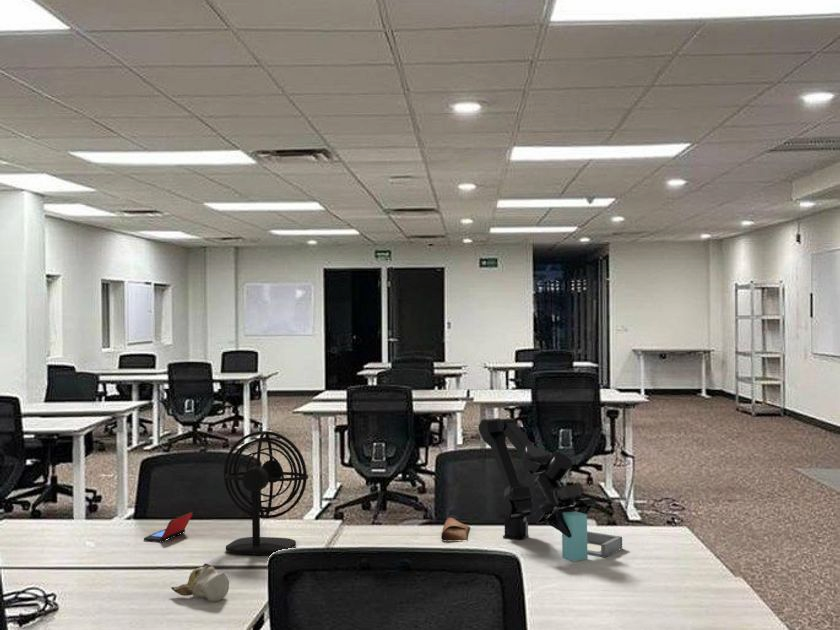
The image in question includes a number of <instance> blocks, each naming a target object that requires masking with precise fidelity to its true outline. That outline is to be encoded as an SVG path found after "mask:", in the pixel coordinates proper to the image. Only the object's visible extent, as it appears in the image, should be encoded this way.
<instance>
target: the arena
mask: <svg viewBox="0 0 840 630" xmlns="http://www.w3.org/2000/svg"><path fill="white" fill-rule="evenodd" d="M621 548H622V549H623V536H621V535H620V536H619V535H613V534H607V533H606V534H605V533H601V532H594V531H588V530H587V551H588V556H589V555H590V556H597V557H602V558H607V557H609V556H611V555H612V553H613V554H614V552H615V553H616V551H617V552H618V550H619V549H621ZM622 549H621V550H622ZM619 551H620V550H619Z"/></svg>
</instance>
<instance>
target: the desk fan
mask: <svg viewBox="0 0 840 630" xmlns="http://www.w3.org/2000/svg"><path fill="white" fill-rule="evenodd" d="M257 435H260V436H259V438H257V439H254V440H251V441H248V442H246V443H244V444H242V445H241V446H240V447H239V448H238V446H239V445H240V444H241V443H242V442H244V441H245V440H247V439H248V438H251V437H253V436H257ZM270 436H274V437H277V438H278V439H277V438H273V437H270ZM282 440H283V441H282ZM254 443H258V445H257V450H256V451H255V452H252V453H251V452H250V453H249V454H247V455H246V456H244V457H243V458H242V459H241V460H240V458H241V455H242V454H243V452H245V450H246V449H247V448H248V447H249V446H251V445H253V444H254ZM263 443H267V446H268V447H264V448H262V445H263ZM272 445H274V446H276V447H278V448H279V449H277V448H275V447H272ZM236 448H238V449H237V450H236ZM287 449H288V450H287ZM235 450H236V451H235ZM266 450H268V453H267V452H264V451H266ZM234 451H235V452H234ZM273 451H276V452H278V453H279V454H281V455H282V456H283V457H284V458H285V459H286V460H287V461H288V464H289V468H290V471H284V470H283V467H282V464H281V463H280V462H279V460H278V459H277V458H276V457H274V456H273ZM233 453H234V454H233ZM291 454H292V455H291ZM261 455H265V456H267V457H269V460H267V461H265V462H264V463H263V464H262V466H261V464H260V463H261ZM250 456H251V457H250ZM255 456H256V466H255V465H254V466H253V467H251V468H250V464H251V462H252V460H253V459H254V457H255ZM292 456H293V457H292ZM249 457H250V458H249ZM247 458H249V460H248V462H247V464H246V469H245V470H246V471H239V470H240V467H241V466H242V464H243V462H244V461H245V460H246V459H247ZM239 460H240V462H239ZM296 465H297V466H296ZM232 468H233V469H232ZM297 469H298V470H297ZM285 476H290V477H285ZM223 479H224V480H223V481H224V486H225V489H226V491H227V493H228V495H229V498H230V500H232V502H233V503H234V504H235V505H236V507H238V508H239V509H240V510H241V511H242V512H243V513H245V514H247V515H249V516H251V517H252V518H251V519H252V520H251V521H252V523H251V524H252V526H251V527H252V529H251V530H252V531H251V532H252V535H251V536H246V537H239V538H237V539H235V540H233V541H231V542H230V543H228V544H227V545H226V546H225V552H228V553H230V554H231V553H232V554H238V555H242V554H243V555H262V556H268V555H271V554H272V553H273V552H276V551H278V550H282V549H288V548H292V547H293V548H294V547H296V545H297V540H295V539H291V538H288V537H276V536H275V537H271V536H261V519H267V520H268V519H275V518H278V517H281V516H283V515H285V514H287V513H288V512H290V511H291V510H292V509H293V508H295V507H296V506H297V505H298V504H299V502H300V501H301V498H303V495H304V492H305V490H306V487H307V481H308V479H309V474H308V471H307V465H306V462H305V459H304V457H303V454H302V452H301V451H300V450H299V448H298V447H297V446H296V444H294V442H293V441H291V440H290V439H289V438H287V437H286V436H285V435H283V434H280V433H278V432H275V431H268V430H262V431H260V430H259V431H254V432H251V433H249V434H246V435H245V436H243V437H241V438H240V439H239V440H237V442H235V443H234V445H233V446H232V447H231V448H230V450H229V452H228V453H227V456H226V459H225V462H224V467H223ZM233 481H234V484H235V487H236V489H235V488H234V484H233ZM239 481H241V482H242V485H243V487H244V488H245V490H246V491H248V492H251V497H250V496H248V495H247V494H246V493H245V492H244V491H243V489H242V488H241V486H240V482H239ZM277 482H281V483H280V487H279V489H278V491H277V492H276V493H275V494H273V492H274V484H275V483H277ZM284 482H289V483H288V485H287V486H286V488H285V489H284V490H283V491H282V489H283V486H284ZM292 482H293V486H292V489H291V492H290V493H289V495H288V497H287V498H286V500H284V501H283V502H282V503H281V504H279V505H275V506H272V504H273V503H272V502H273V500H274V499H275V498H276V497H278V496H280V495H282V494H284V493H286V491H287V490H288V489H289V488H290V486H291V484H292ZM268 485H269V494H266V493H264V492H261V491H262V490H264V489H265V488H267V486H268ZM300 488H301V489H300ZM236 490H237V492H238V493H239V495H240V496H241V498H242V499H244V501H243V500H242V499H241V498H240V496H239V495H238V493H237V492H236ZM299 490H300V492H299ZM298 492H299V494H298ZM297 494H298V496H297V498H296V500H295V501H294V502H293V503H292V504H291V505H290V506H288V508H287V509H285V510H283V511H281V512H278V513H276V514H270V513H271V512H274V511H277V510H279V509H281V508H282V507H284V506H286V505H288V504H289V503H290V502H291V501H292V500H294V498H295V496H296V495H297ZM261 497H266V498H268V499H265V500H262V499H261ZM245 501H246V502H245ZM247 503H248V504H247ZM263 503H268V504H267V506H263V505H262V504H263ZM293 548H292V549H293ZM272 555H273V554H272Z"/></svg>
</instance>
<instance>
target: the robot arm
mask: <svg viewBox="0 0 840 630" xmlns="http://www.w3.org/2000/svg"><path fill="white" fill-rule="evenodd" d="M478 432H479V434H480V436H481V438H482V441H483V442H484V443H486V444H487V446H489V447H490V449H491V452H492V454H493V457H494V460H495V463H496V466H497V469H498V473H499V475H500V477H501V480H502V484H503V486H504V493H503V497H502V498H503V499H502V500H503V502H504V503H503V504H502V506H500V508H499V510H498V513H499V517H500V518H502V519H503V520H504V535H502V538H503V539H504V538H505V539H514V540H515V539H516V540H524V539H525V538H527V537H528V536H529V521H527V517H531V516H532V515H531V514H532V511H533V507H534V501H533V498H534V497H533V496H532V494H531V492H530V491H531V489H530V488H529V486H528V485H523V484H521V482H520V480H519V476H518V473H517V472H516V468H515V465H514V463H513V460H512V457H511V455H510V452H509V449H508V446H507V443H506V440H507V439H508V441H509V442H510V443H511V445H512V447H514V448H515V449H516V451H517V452H518V453H519V455H520V457H521V463H522V465H523V468H524V469H525V470H526V473H527V474H529V475H536V474H539V475H538V476H535V478H534V481H533V488H534V487H535V488H537V487H539V489H540V490H541V491H542V494H543V495H544V498H543V501H544V503H546V504H540V505H539V506H538V508H537V509H536V511H535V512H534V513H533V520H534V522H535V524H536V525H538V524H544V523H545V525H549V526H551V527H552V528H553V529H556V530H557V531H559V532H560V533H561V534H562V533H563V534H564V535H566V536H567V537H568V538H570V537H571V536H572V535H571V533H570V530H569V529H568V527H567V525H566V523H565V521H564V519H563V513H567V512H574V511H576V512H580V513H583V514H587V515H588V514H589V513H590V511H591V510H592V509H593V507H595V503H594V501H593V500H592V498H590V497H586V498H579V499H578V500H577V502H576V503H575V504H573V503H574V502H575V501H576V498H577V497H581V496H582V494H583V493H584V487H583V485H582V483H581V482H579V481H578V482H574V483H572V485H566V486H562V484H561V482H560V481H562V480H563V479H564V478H565V477H566V476H567V474H569V471H570V470H571V469H572V467H573V462H572V459H571V458H569V457H568V456H567V455H565V454H564V453H563V454H562V452H561V451H560V450H557V451H553V452H552V454H551V457H550V456H549V455H548V454H547V452H546V451H544V450H543V449H541V448H539V447H536V446H535V445H534V444H533V443H532V441H531V440H530V439H529V438H528V437H527V435H526V434H525V433H524V431H523V430H522V429H521V428H520V427H519V425H518V424H517V421H516V420H515V418H512V417H507V418H501V417H497V418H485V419H482V420H481V421H480V423H479V424H478ZM572 504H573V505H572Z"/></svg>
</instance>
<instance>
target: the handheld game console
mask: <svg viewBox="0 0 840 630" xmlns="http://www.w3.org/2000/svg"><path fill="white" fill-rule="evenodd" d="M193 513H194V512H192V511H191V512H188V513H185V514H183V515H180V516H178V517H175V518H172V519H171V520H170V521H169V522H168V524H167V526H166V528H165V529H163V530H162V529H161V530H159V531H157V532H154V533H152V534H149V535H148V536H144V537H143V541H144V540H147V541H146V542H152V541H161V542H160V543H163V542H162V541H165V540H166V539H168V538H171V537H173V536H176V535H178V534H180V533H183V532H186V527H187V526H188V523H189V522H190V521H191V518H192V516H193V515H194V514H193ZM176 537H177V536H176ZM173 538H174V537H173ZM171 539H172V538H171ZM165 542H166V541H165Z"/></svg>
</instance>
